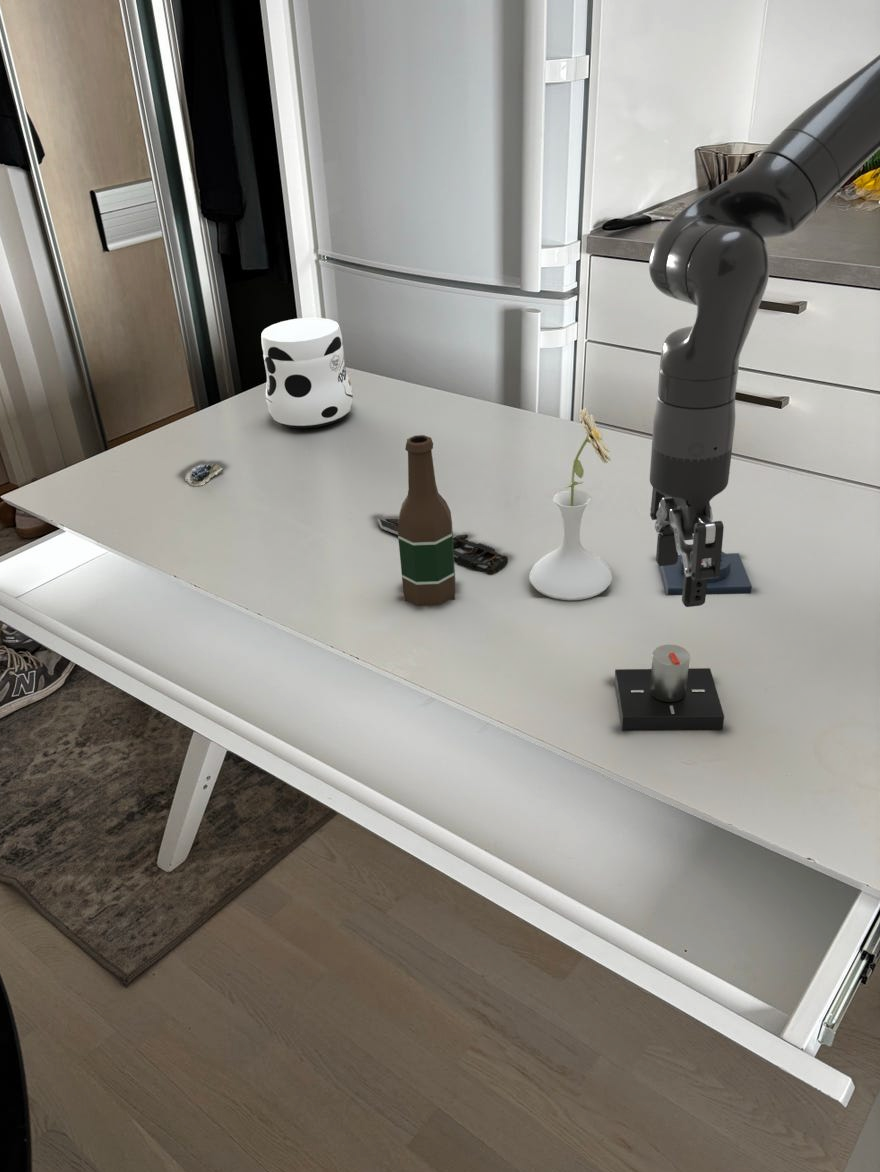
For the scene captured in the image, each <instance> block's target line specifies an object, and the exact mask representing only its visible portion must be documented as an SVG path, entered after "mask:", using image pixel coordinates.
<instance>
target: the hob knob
mask: <svg viewBox="0 0 880 1172" xmlns="http://www.w3.org/2000/svg"><path fill="white" fill-rule="evenodd" d="M651 659H652V660H651V661H652V662H651V669H652V670H651V682H650V693H651V695H652V696H653V697H654V698H656V699H658V700H660V701H663V702H676V701H679V700H681V699H683V698H684V697H685V695H686V688H687V679H688V669H689V668H690V661H691V660H690V659H691V655H690V653H689V651H688V650H687V649H686V648H684V647H683V646H680V645H678V644H677V645H676V644H662V645H659V646H658V647H656V648H655V649H654V650H653V652H652V658H651Z"/></svg>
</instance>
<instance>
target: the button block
mask: <svg viewBox="0 0 880 1172" xmlns="http://www.w3.org/2000/svg"><path fill="white" fill-rule="evenodd" d="M691 560H692V553H691ZM658 568H659V569H658V570H659V572H660V576H661V580H662V584H663V587H664V591H665V595H666V596H682V592H683V581H684V564H683V557H682V555H680V554H678V561H677V563H676V564H674V565H667V566H659V565H658ZM752 588H753V585H752V583H751V581H750V578H749V576H748V573H747V571H746V568H745V566H744V563H743V560H742V558H741V556H740V553H739V552H735V553H734V552H732V553H730V552H729V553H726V552H724V551H722V552H721V564H720V575H719V577H718V578H711V579H708V580H707V589H706V596H707V595H751V594H752V590H753V589H752Z"/></svg>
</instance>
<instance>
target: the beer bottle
mask: <svg viewBox="0 0 880 1172" xmlns="http://www.w3.org/2000/svg"><path fill="white" fill-rule="evenodd" d="M433 449H434V441H433V439H432V437H430V436H427V435H425V434H420V435H413V436H411V437H409V438H407V439H406V442H405V451H407V466H408V467H407V474H408V475H407V476H408V477H407V479H408V480H407V481H408V490H407V495H406V497H405V498H404V500H403V501H402V503H401V507H400V510H399V515H398V519H399V520H398V525H397V526H398V535H397V537H398V548H399V549H398V550H399V559H400V572H401V581H402V582H401V583H402V593H403V598H404V602H410V603H412V604H414V605H416V606H418V607H423V606H424V607H428V606H429V607H430V606H441V605H442V604H445V603H447V602H448V601H455V600H456V567H455V565H456V564H455V561H454V557H455V555H454V551H455V548H454V547H453V538H454V532H453V529H454V528H453V520H452V511H451V509H450V507H449V505H448V503H447V500H446V499H445V498H443V496H442V495H441V494H440V493H439V490H438V487H437V482H436V475H435V468H434V459H433V452H432V450H433Z"/></svg>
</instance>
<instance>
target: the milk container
mask: <svg viewBox="0 0 880 1172" xmlns="http://www.w3.org/2000/svg"><path fill="white" fill-rule="evenodd" d="M260 339H261V349H262V353H263V354H262V357H263V362H264V368H265V374H266V386H265V402H266V408H267V410H268V414H269V416H270V417H271V418H272V420H273V422H276V423H277V424H279V425H281V426H284V427H287V428H292V429H311V428H319V427H323V426H329V425H331V424H335V423H336V422H339V421H341V420H342V419H343V418H345V417H346V416H347V415H348V414H349V413H350V411H351V410H352V407H353V399H354V398H353V397H354V396H353V395H354V394H353V387H352V383H351V380H350V377H349V375H348V373H347V368H346V365H345V353H344V345H343V335H342V330H341V327H340V325H339V323H338V322H337V321H335V320H333V319H331V318H326V317H325V318H324V317H301V318H300V317H299V318H293V319H288V320H283V321H282V320H281V321H280V322H279V321H278V322H277V323H274V324H271V325H269V326H267V327H266V328H265V327H264V329H263V330H262V332H261V336H260Z"/></svg>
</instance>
